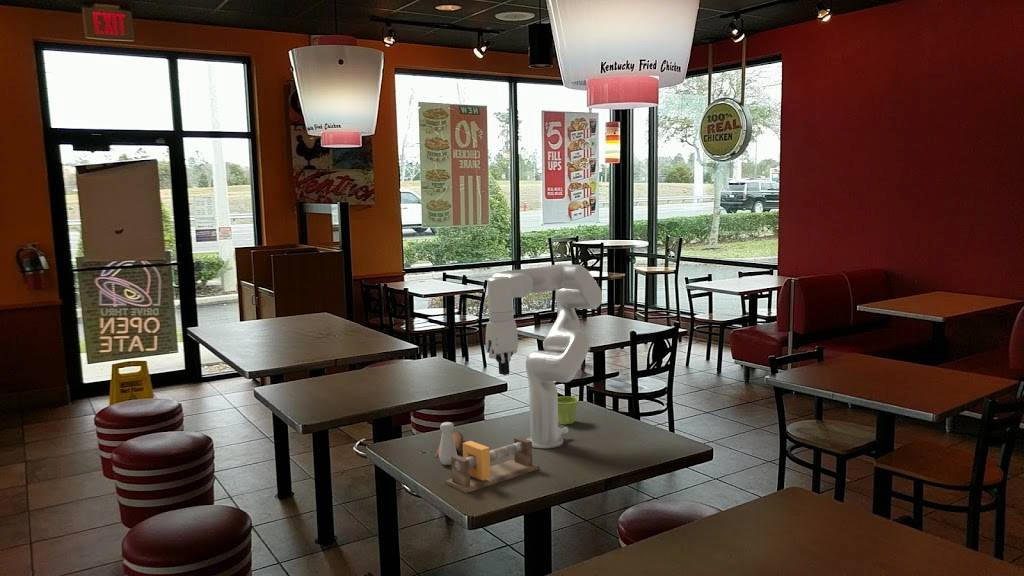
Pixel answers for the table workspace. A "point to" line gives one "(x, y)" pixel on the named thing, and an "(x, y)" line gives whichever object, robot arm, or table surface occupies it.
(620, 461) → the table surface
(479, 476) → the collar
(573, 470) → the table surface
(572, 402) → the plant pot
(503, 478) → the pipe stand
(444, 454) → the salt shaker
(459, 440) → the sunglasses case
